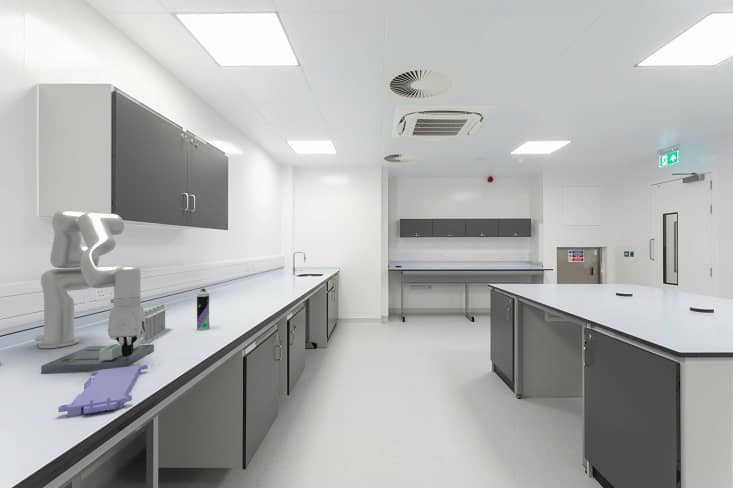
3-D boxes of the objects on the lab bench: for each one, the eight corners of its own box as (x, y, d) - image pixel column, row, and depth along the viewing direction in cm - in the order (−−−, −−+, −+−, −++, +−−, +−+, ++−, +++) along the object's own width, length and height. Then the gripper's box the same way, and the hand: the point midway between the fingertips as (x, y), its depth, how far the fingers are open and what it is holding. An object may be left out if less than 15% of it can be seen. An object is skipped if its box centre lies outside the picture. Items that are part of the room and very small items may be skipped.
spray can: (197, 330, 170) (197, 289, 170) (196, 328, 175) (196, 288, 175) (209, 329, 172) (209, 288, 173) (208, 327, 177) (208, 287, 177)
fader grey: (119, 350, 129) (119, 340, 129) (128, 345, 135) (128, 336, 135) (130, 350, 129) (130, 340, 129) (139, 345, 135) (139, 335, 135)
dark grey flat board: (41, 373, 114) (41, 365, 114) (88, 352, 135) (88, 346, 135) (120, 370, 116) (120, 362, 116) (154, 350, 138) (153, 344, 138)
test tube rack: (148, 343, 149) (148, 312, 149) (137, 344, 148) (137, 312, 148) (170, 329, 173) (170, 302, 173) (160, 330, 172) (160, 303, 172)
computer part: (53, 423, 82) (129, 411, 88) (53, 405, 82) (129, 394, 88) (92, 379, 109) (148, 372, 116) (92, 365, 109) (148, 359, 116)
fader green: (99, 360, 118) (99, 349, 118) (110, 354, 124) (110, 344, 124) (112, 359, 118) (112, 348, 118) (122, 354, 124) (122, 343, 124)
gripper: (97, 304, 117) (97, 360, 117) (144, 303, 118) (144, 358, 118) (111, 301, 124) (111, 353, 124) (155, 300, 126) (155, 351, 126)
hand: (127, 355), depth 121 cm, fingers closed
